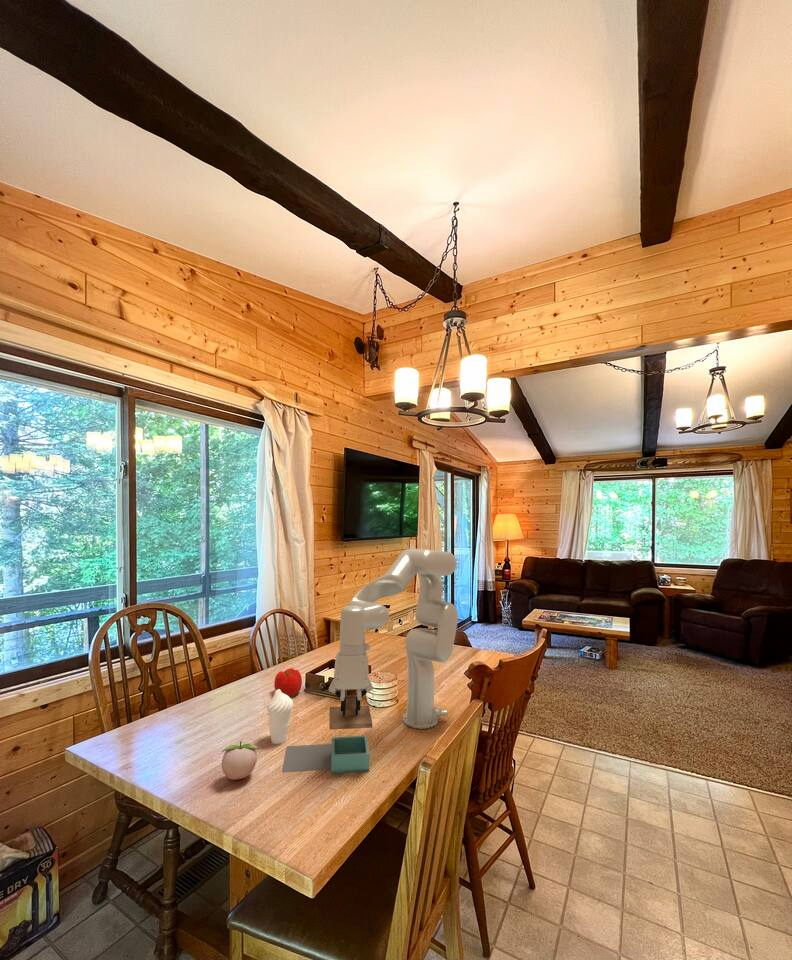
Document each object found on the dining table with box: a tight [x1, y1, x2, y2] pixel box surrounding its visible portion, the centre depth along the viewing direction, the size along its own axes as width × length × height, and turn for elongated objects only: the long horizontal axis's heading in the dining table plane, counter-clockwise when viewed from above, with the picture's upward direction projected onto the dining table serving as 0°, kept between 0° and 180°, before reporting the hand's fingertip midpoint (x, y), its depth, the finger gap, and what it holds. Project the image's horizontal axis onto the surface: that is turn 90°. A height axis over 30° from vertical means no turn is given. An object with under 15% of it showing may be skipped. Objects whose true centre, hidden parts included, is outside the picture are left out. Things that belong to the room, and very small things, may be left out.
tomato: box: [273, 667, 303, 697], centre depth 176 cm, size 11×12×9 cm
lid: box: [328, 694, 373, 730], centre depth 128 cm, size 12×12×6 cm
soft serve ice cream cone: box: [266, 689, 294, 745], centre depth 139 cm, size 8×8×16 cm
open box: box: [330, 735, 370, 775], centre depth 127 cm, size 11×11×5 cm
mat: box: [281, 743, 332, 773], centre depth 129 cm, size 14×14×1 cm
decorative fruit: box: [221, 741, 259, 781], centre depth 118 cm, size 9×8×10 cm
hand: (350, 712), depth 128 cm, fingers closed on lid, 3 cm apart
